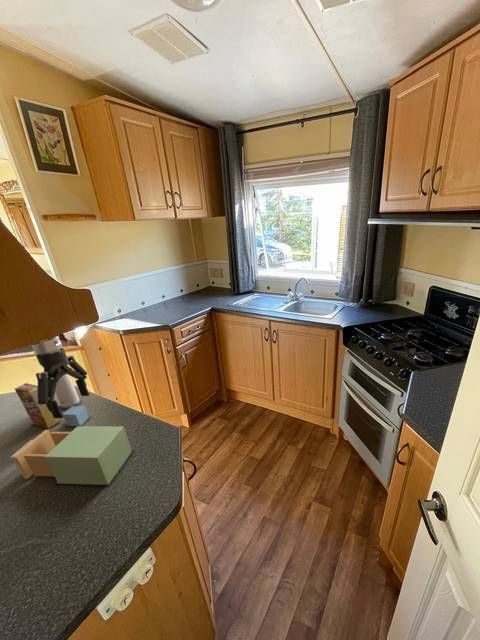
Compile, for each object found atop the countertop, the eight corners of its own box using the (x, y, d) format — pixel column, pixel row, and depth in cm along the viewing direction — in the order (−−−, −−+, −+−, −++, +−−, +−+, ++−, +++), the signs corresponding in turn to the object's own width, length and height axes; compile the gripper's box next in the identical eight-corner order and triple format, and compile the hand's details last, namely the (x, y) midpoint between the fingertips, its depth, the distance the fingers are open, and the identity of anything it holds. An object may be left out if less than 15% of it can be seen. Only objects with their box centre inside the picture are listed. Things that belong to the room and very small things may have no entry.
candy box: (31, 424, 105) (13, 388, 98) (43, 417, 109) (26, 382, 102) (47, 429, 102) (30, 392, 95) (59, 421, 106) (43, 385, 99)
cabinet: (57, 483, 79) (44, 456, 75) (87, 450, 91) (77, 426, 86) (108, 484, 78) (97, 457, 74) (132, 451, 89) (123, 426, 85)
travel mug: (64, 411, 112) (45, 364, 103) (60, 405, 116) (40, 360, 108) (82, 403, 116) (64, 358, 107) (77, 398, 120) (60, 354, 112)
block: (67, 426, 103) (62, 414, 101) (76, 417, 108) (72, 406, 105) (80, 426, 103) (75, 414, 100) (89, 417, 107) (84, 406, 105)
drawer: (10, 478, 81) (-3, 456, 77) (42, 449, 91) (32, 429, 88) (69, 479, 79) (59, 457, 76) (95, 450, 89) (87, 429, 86)
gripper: (28, 368, 82) (56, 428, 91) (85, 336, 104) (103, 387, 113) (3, 368, 82) (34, 428, 91) (66, 337, 105) (85, 387, 114)
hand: (73, 405), depth 102 cm, fingers open, 13 cm apart
